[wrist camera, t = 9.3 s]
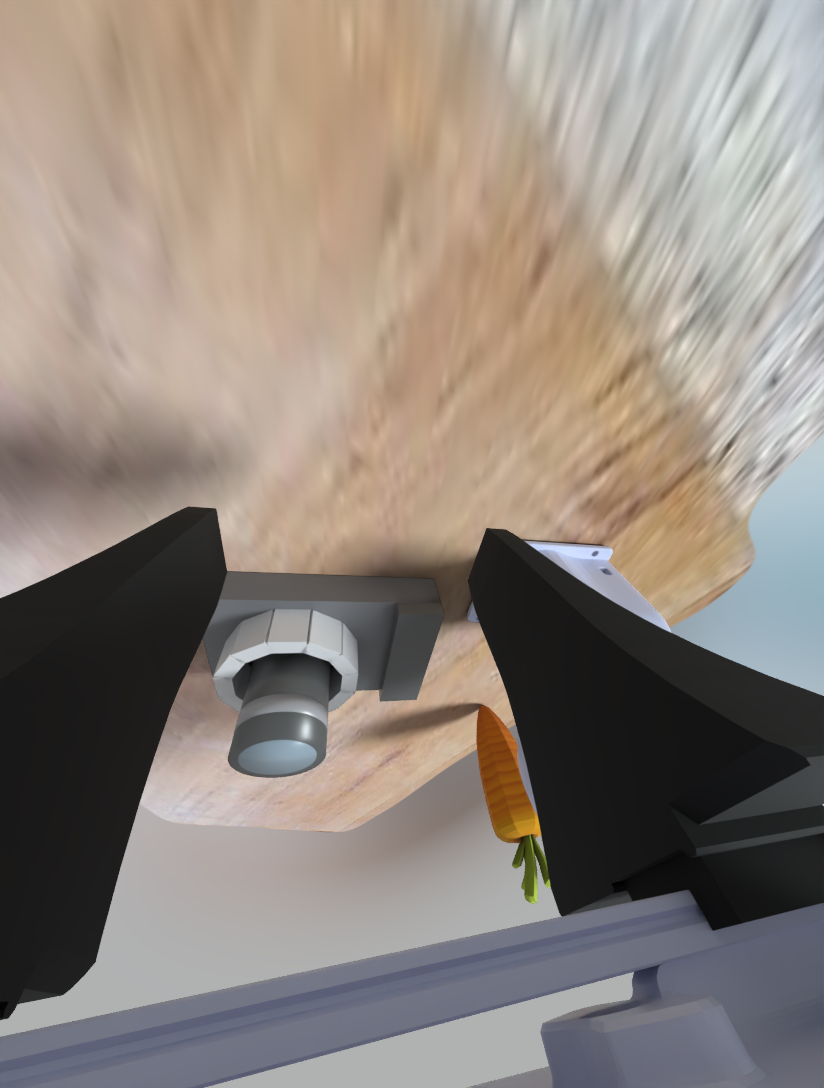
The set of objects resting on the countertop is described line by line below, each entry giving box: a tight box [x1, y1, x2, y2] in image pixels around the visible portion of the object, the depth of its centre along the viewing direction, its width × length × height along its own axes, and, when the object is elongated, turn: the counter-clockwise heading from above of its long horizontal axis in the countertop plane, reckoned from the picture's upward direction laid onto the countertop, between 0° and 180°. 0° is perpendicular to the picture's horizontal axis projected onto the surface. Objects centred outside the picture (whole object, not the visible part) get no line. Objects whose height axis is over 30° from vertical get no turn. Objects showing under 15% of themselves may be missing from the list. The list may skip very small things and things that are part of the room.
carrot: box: [477, 705, 551, 904], centre depth 31 cm, size 5×5×15 cm
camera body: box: [203, 572, 444, 713], centre depth 24 cm, size 15×10×5 cm, turn 80°
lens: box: [228, 653, 331, 778], centre depth 21 cm, size 5×5×7 cm
